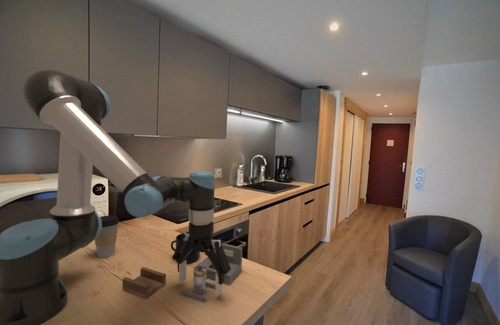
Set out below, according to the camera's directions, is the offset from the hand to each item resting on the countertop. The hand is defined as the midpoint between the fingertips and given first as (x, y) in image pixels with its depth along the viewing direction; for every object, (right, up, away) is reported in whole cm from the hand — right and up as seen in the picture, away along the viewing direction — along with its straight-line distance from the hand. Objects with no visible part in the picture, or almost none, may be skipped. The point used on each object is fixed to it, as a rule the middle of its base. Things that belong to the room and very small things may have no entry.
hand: (199, 287), depth 73 cm
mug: (-11, 0, +21) cm, 23 cm away
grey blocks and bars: (+2, -1, +6) cm, 6 cm away
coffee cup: (-43, +2, +22) cm, 48 cm away
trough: (-18, 0, +1) cm, 18 cm away
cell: (0, -1, 0) cm, 1 cm away
